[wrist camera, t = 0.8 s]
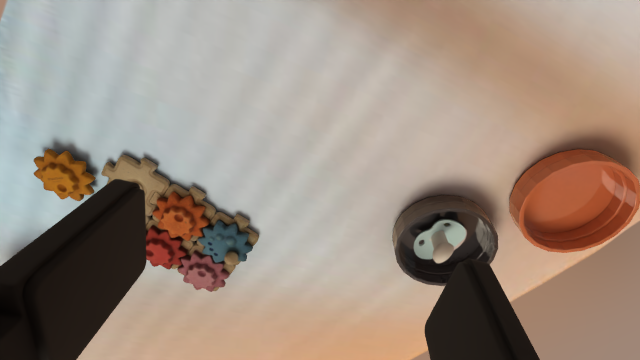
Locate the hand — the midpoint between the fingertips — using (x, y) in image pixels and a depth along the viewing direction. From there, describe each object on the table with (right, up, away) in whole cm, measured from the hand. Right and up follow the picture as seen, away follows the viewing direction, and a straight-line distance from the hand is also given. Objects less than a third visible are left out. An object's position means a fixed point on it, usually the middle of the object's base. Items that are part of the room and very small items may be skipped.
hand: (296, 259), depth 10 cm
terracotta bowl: (+32, +1, +34) cm, 46 cm away
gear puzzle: (-24, -2, +41) cm, 47 cm away
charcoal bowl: (+17, -5, +38) cm, 42 cm away
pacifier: (+17, -5, +38) cm, 42 cm away
